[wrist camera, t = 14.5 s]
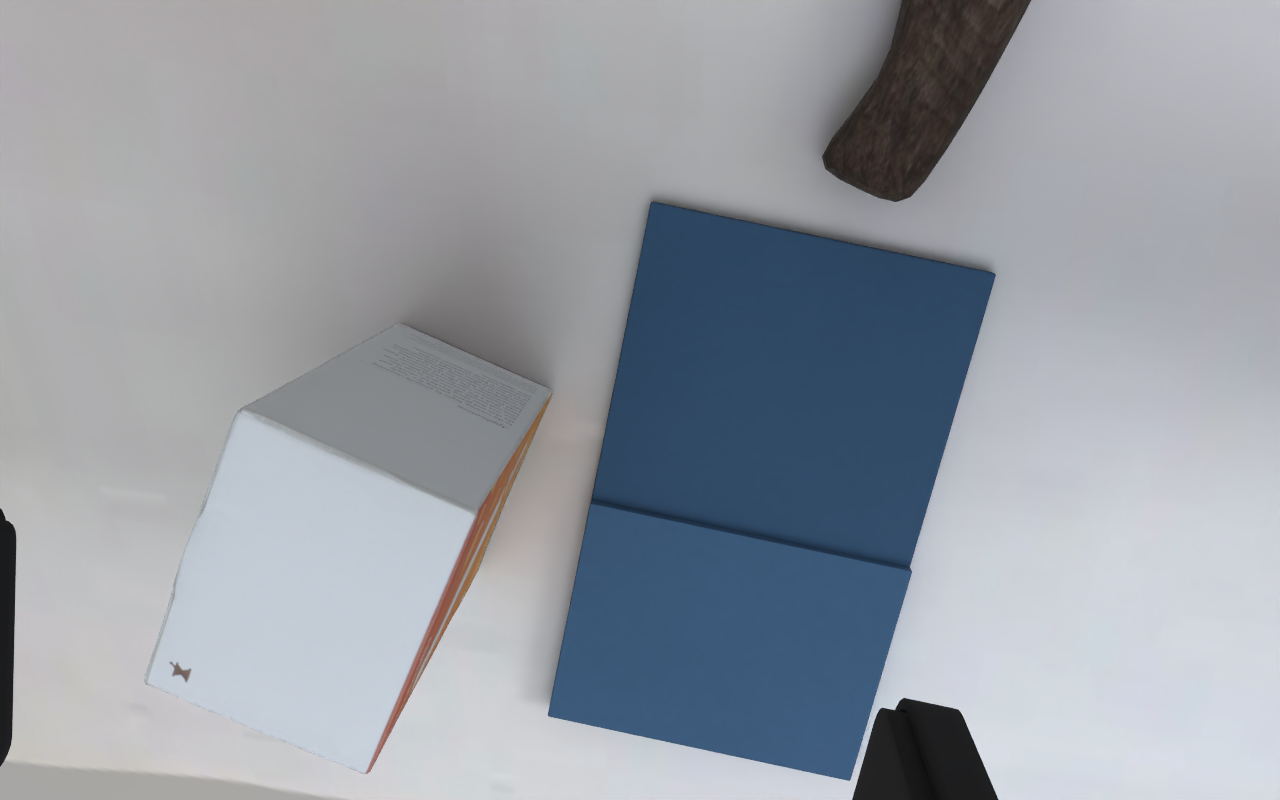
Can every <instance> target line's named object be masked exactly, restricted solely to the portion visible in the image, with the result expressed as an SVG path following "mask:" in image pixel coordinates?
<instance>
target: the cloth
mask: <svg viewBox="0 0 1280 800" xmlns="http://www.w3.org/2000/svg"><path fill="white" fill-rule="evenodd" d="M995 276H996V274H994V273H992V272H988V271H983V270H978V269H973V268H969V267H964V266H959V265H954V264H949V263H945V262H940V261H935V260H930V259H925V258H921V257H916V256H911V255H906V254H901V253H897V252H892V251H887V250H882V249H877V248H873V247H868V246H863V245H858V244H853V243H849V242H844V241H839V240H834V239H830V238H825V237H820V236H815V235H810V234H806V233H801V232H796V231H791V230H786V229H782V228H777V227H772V226H767V225H762V224H758V223H753V222H748V221H743V220H738V219H734V218H729V217H724V216H719V215H714V214H710V213H705V212H700V211H695V210H690V209H686V208H681V207H676V206H671V205H666V204H662V203H657V202H651V205H650V210H649V215H648V220H647V224H646V229H645V234H644V239H643V244H642V249H641V254H640V259H639V264H638V269H637V274H636V279H635V284H634V289H633V294H632V299H631V304H630V309H629V314H628V319H627V324H626V329H625V334H624V339H623V344H622V349H621V354H620V359H619V364H618V369H617V374H616V379H615V384H614V389H613V394H612V399H611V404H610V409H609V414H608V419H607V424H606V429H605V434H604V439H603V444H602V449H601V454H600V459H599V464H598V469H597V474H596V479H595V484H594V489H593V494H592V499H591V503H590V507H589V512H588V517H587V522H586V527H585V532H584V537H583V542H582V547H581V552H580V557H579V562H578V567H577V572H576V577H575V582H574V587H573V592H572V597H571V602H570V607H569V612H568V617H567V622H566V627H565V632H564V637H563V642H562V647H561V652H560V657H559V662H558V667H557V672H556V677H555V682H554V687H553V692H552V697H551V702H550V707H549V712H548V716H549V717H554V718H559V719H563V720H568V721H573V722H577V723H582V724H587V725H591V726H596V727H601V728H605V729H610V730H615V731H619V732H624V733H629V734H633V735H638V736H643V737H647V738H652V739H657V740H661V741H666V742H671V743H675V744H680V745H685V746H690V747H694V748H699V749H704V750H708V751H713V752H718V753H722V754H727V755H732V756H736V757H741V758H746V759H750V760H755V761H760V762H764V763H769V764H774V765H778V766H783V767H788V768H792V769H797V770H802V771H806V772H811V773H816V774H820V775H825V776H830V777H834V778H839V779H844V780H848V781H850V779H851V776H852V773H853V769H854V766H855V763H856V759H857V756H858V752H859V749H860V746H861V742H862V739H863V735H864V732H865V729H866V725H867V722H868V719H869V715H870V712H871V708H872V705H873V702H874V698H875V695H876V692H877V688H878V685H879V681H880V678H881V675H882V671H883V668H884V665H885V661H886V658H887V654H888V651H889V648H890V644H891V641H892V637H893V634H894V631H895V627H896V624H897V621H898V617H899V614H900V610H901V607H902V604H903V600H904V597H905V594H906V590H907V587H908V583H909V580H910V577H911V573H912V571H911V569H910V564H911V561H912V557H913V554H914V551H915V547H916V544H917V540H918V537H919V534H920V530H921V527H922V523H923V520H924V517H925V513H926V510H927V507H928V503H929V500H930V496H931V493H932V490H933V486H934V483H935V479H936V476H937V473H938V469H939V466H940V462H941V459H942V456H943V452H944V449H945V445H946V442H947V439H948V435H949V432H950V429H951V425H952V422H953V418H954V415H955V412H956V408H957V405H958V401H959V398H960V395H961V391H962V388H963V384H964V381H965V378H966V374H967V371H968V367H969V364H970V361H971V357H972V354H973V351H974V347H975V344H976V340H977V337H978V334H979V330H980V327H981V323H982V320H983V317H984V313H985V310H986V306H987V303H988V300H989V296H990V293H991V290H992V286H993V283H994V279H995Z"/></svg>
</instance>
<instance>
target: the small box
mask: <svg viewBox="0 0 1280 800" xmlns="http://www.w3.org/2000/svg"><path fill="white" fill-rule="evenodd" d="M551 396H552V391H551V390H550V389H549V388H547V387H544V386H542V385H539V384H537V383H535V382H532V381H530V380H528V379H526V378H523V377H521V376H519V375H517V374H514V373H512V372H510V371H508V370H505V369H503V368H501V367H498V366H496V365H494V364H492V363H489V362H487V361H485V360H483V359H480V358H478V357H476V356H473V355H471V354H469V353H467V352H464V351H462V350H460V349H458V348H456V347H453V346H451V345H449V344H447V343H444V342H442V341H440V340H438V339H435V338H433V337H431V336H429V335H426V334H424V333H422V332H420V331H417V330H415V329H413V328H411V327H408V326H406V325H404V324H401V323H398V324H395V325H394V326H392V327H390V328H388V329H387V330H385V331H383V332H381V333H379V334H377V335H375V336H374V337H372V338H370V339H368V340H366V341H364V342H363V343H361V344H359V345H357V346H355V347H353V348H352V349H350V350H348V351H346V352H344V353H342V354H341V355H339V356H337V357H335V358H333V359H331V360H329V361H328V362H326V363H324V364H322V365H320V366H318V367H317V368H315V369H313V370H311V371H309V372H308V373H306V374H304V375H302V376H300V377H298V378H297V379H295V380H293V381H291V382H289V383H287V384H286V385H284V386H282V387H280V388H279V389H277V390H275V391H273V392H271V393H269V394H267V395H265V396H264V397H262V398H260V399H258V400H256V401H254V402H252V403H250V404H248V405H246V406H245V407H243V408H241V409H240V410H238V411H237V413H236V415H235V416H234V419H233V422H232V424H231V427H230V430H229V432H228V435H227V437H226V440H225V443H224V446H223V448H222V451H221V454H220V457H219V459H218V462H217V465H216V467H215V470H214V473H213V476H212V479H211V482H210V485H209V487H208V490H207V493H206V496H205V498H204V501H203V504H202V507H201V510H200V513H199V515H198V518H197V520H196V523H195V525H194V528H193V530H192V532H191V535H190V537H189V539H188V542H187V544H186V547H185V550H184V553H183V555H182V559H181V562H180V565H179V569H178V572H177V574H176V578H175V581H174V585H173V591H172V594H171V598H170V602H169V605H168V608H167V611H166V614H165V617H164V621H163V624H162V627H161V629H160V632H159V635H158V639H157V642H156V646H155V649H154V652H153V654H152V657H151V660H150V663H149V666H148V669H147V672H146V675H145V683H146V685H149V686H152V687H155V688H158V689H160V690H162V691H165V692H167V693H169V694H171V695H174V696H176V697H178V698H180V699H183V700H185V701H187V702H189V703H192V704H194V705H196V706H199V707H201V708H203V709H206V710H208V711H211V712H213V713H215V714H218V715H220V716H223V717H225V718H227V719H230V720H232V721H235V722H237V723H240V724H242V725H244V726H247V727H249V728H252V729H254V730H257V731H259V732H261V733H264V734H266V735H269V736H271V737H274V738H276V739H279V740H281V741H284V742H286V743H289V744H292V745H294V746H296V747H299V748H301V749H303V750H306V751H308V752H311V753H313V754H315V755H318V756H321V757H323V758H326V759H328V760H331V761H333V762H336V763H338V764H341V765H344V766H346V767H349V768H351V769H353V770H356V771H358V772H360V773H363V774H367V773H369V772H370V771H371V769H372V767H373V765H374V763H375V761H376V759H377V757H378V755H379V754H380V752H381V750H382V748H383V746H384V744H385V742H386V740H387V738H388V736H389V734H390V732H391V731H392V729H393V727H394V725H395V723H396V721H397V719H398V717H399V716H400V714H401V712H402V710H403V708H404V706H405V704H406V703H407V701H408V699H409V697H410V695H411V693H412V691H413V690H414V688H415V686H416V684H417V682H418V680H419V679H420V677H421V675H422V673H423V671H424V669H425V667H426V666H427V664H428V662H429V660H430V658H431V656H432V654H433V653H434V651H435V649H436V647H437V645H438V643H439V641H440V639H441V637H442V635H443V634H444V632H445V630H446V628H447V626H448V624H449V622H450V620H451V619H452V617H453V615H454V613H455V612H456V610H457V608H458V607H459V605H460V603H461V601H462V600H463V598H464V596H465V594H466V592H467V591H468V589H469V587H470V585H471V583H472V581H473V579H474V577H475V575H476V573H477V571H478V569H479V567H480V564H481V561H482V558H483V555H484V553H485V550H486V547H487V545H488V542H489V540H490V537H491V535H492V532H493V530H494V527H495V525H496V523H497V520H498V518H499V516H500V513H501V511H502V508H503V506H504V504H505V501H506V499H507V496H508V494H509V492H510V489H511V487H512V485H513V482H514V480H515V478H516V476H517V473H518V471H519V469H520V467H521V464H522V462H523V460H524V457H525V455H526V453H527V450H528V448H529V446H530V443H531V441H532V439H533V436H534V434H535V432H536V429H537V427H538V425H539V423H540V421H541V418H542V416H543V414H544V412H545V409H546V407H547V405H548V403H549V401H550V399H551Z"/></svg>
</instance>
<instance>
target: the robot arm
mask: <svg viewBox="0 0 1280 800" xmlns="http://www.w3.org/2000/svg"><path fill="white" fill-rule="evenodd" d="M15 576H16V531H15V529H14V527H13V525H12V524H11V523H10V522H9V521H6V519H5V516H4V514H3V511H2V509H0V766H1V765H2V763H3V762H4V760H5V758H6V756H7V754H8V752H9V749H10V746H11V740H12V717H13V670H14V623H15ZM852 800H998V798H997V795H996V793H995V791H994V788H993V786H992V784H991V781H990V779H989V777H988V774H987V772H986V770H985V767H984V765H983V762H982V760H981V758H980V755H979V753H978V751H977V748H976V746H975V744H974V741H973V739H972V737H971V734H970V732H969V730H968V727H967V725H966V722H965V720H964V718H963V715H962V714H961V712H960V711H959V710H957V709H953V708H949V707H944V706H939V705H935V704H930V703H925V702H921V701H916V700H911V699H906V698H903V699H902V700H901V701H900V702H899V704H898V705H897V707H896V710H890V709H886V708H881V709H880V710H879V712H878V714H877V716H876V719H875V722H874V725H873V728H872V732H871V735H870V739H869V743H868V746H867V750H866V753H865V757H864V760H863V764H862V767H861V771H860V774H859V778H858V781H857V785H856V788H855V792H854V796H853V799H852Z"/></svg>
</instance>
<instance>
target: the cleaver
mask: <svg viewBox="0 0 1280 800" xmlns="http://www.w3.org/2000/svg"><path fill="white" fill-rule="evenodd" d="M1030 2H1031V0H902V4H901V9H900V13H899V17H898V21H897V25H896V29H895V33H894V37H893V41H892V45H891V49H890V51H889V53H888V55H887V58H886V60H885V62H884V64H883V67H882V69H881V71H880V73H879V76H878V78H877V79H876V81H875V82H874V84H873V85H872V86H871V88H870V89H869V91H868V92H867V93H866V95H865V96H864V98H863V99H862V100H861V102H860V103H859V105H858V106H857V107H856V109H855V110H854V111H853V113H852V114H851V115H850V116H849V118H848V119H847V120H846V121H845V123H844V124H843V125H842V127H841V128H840V129H839V130H838V132H837V133H836V134H835V135H834V137H833V138H832V140H831V141H830V143H829V145H828V147H827V149H826V150H825V152H824V154H823V156H822V158H823V162H824V166H825V169H826V170H828V171H829V172H830V173H832V174H833V175H835V176H836V177H837V178H839V179H840V180H842V181H844V182H846V183H848V184H850V185H852V186H854V187H856V188H858V189H860V190H862V191H865V192H867V193H869V194H871V195H874V196H876V197H878V198H882V199H886V200H890V201H894V202H898V201H900V200H903V199H906V198H909V197H911V196H912V195H913V194H914V192H915V191H916V190H917V189H918V188H919V187H920V186H921V185H922V183H923V182H924V181H925V180H926V178H927V177H928V176H929V174H930V173H931V171H932V170H933V168H934V167H935V165H936V164H937V163H938V161H939V160H940V158H941V157H942V155H943V154H944V152H945V151H946V149H947V148H948V146H949V145H950V143H951V141H952V140H953V138H954V137H955V135H956V133H957V132H958V130H959V129H960V127H961V125H962V124H963V122H964V121H965V119H966V117H967V116H968V114H969V112H970V111H971V109H972V107H973V106H974V104H975V102H976V100H977V99H978V97H979V95H980V94H981V92H982V90H983V88H984V87H985V85H986V83H987V81H988V79H989V78H990V76H991V74H992V72H993V70H994V68H995V67H996V65H997V63H998V61H999V59H1000V58H1001V56H1002V54H1003V52H1004V50H1005V48H1006V46H1007V45H1008V43H1009V41H1010V39H1011V37H1012V35H1013V34H1014V32H1015V30H1016V28H1017V26H1018V24H1019V22H1020V20H1021V19H1022V17H1023V15H1024V13H1025V11H1026V9H1027V7H1028V5H1029V4H1030Z"/></svg>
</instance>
